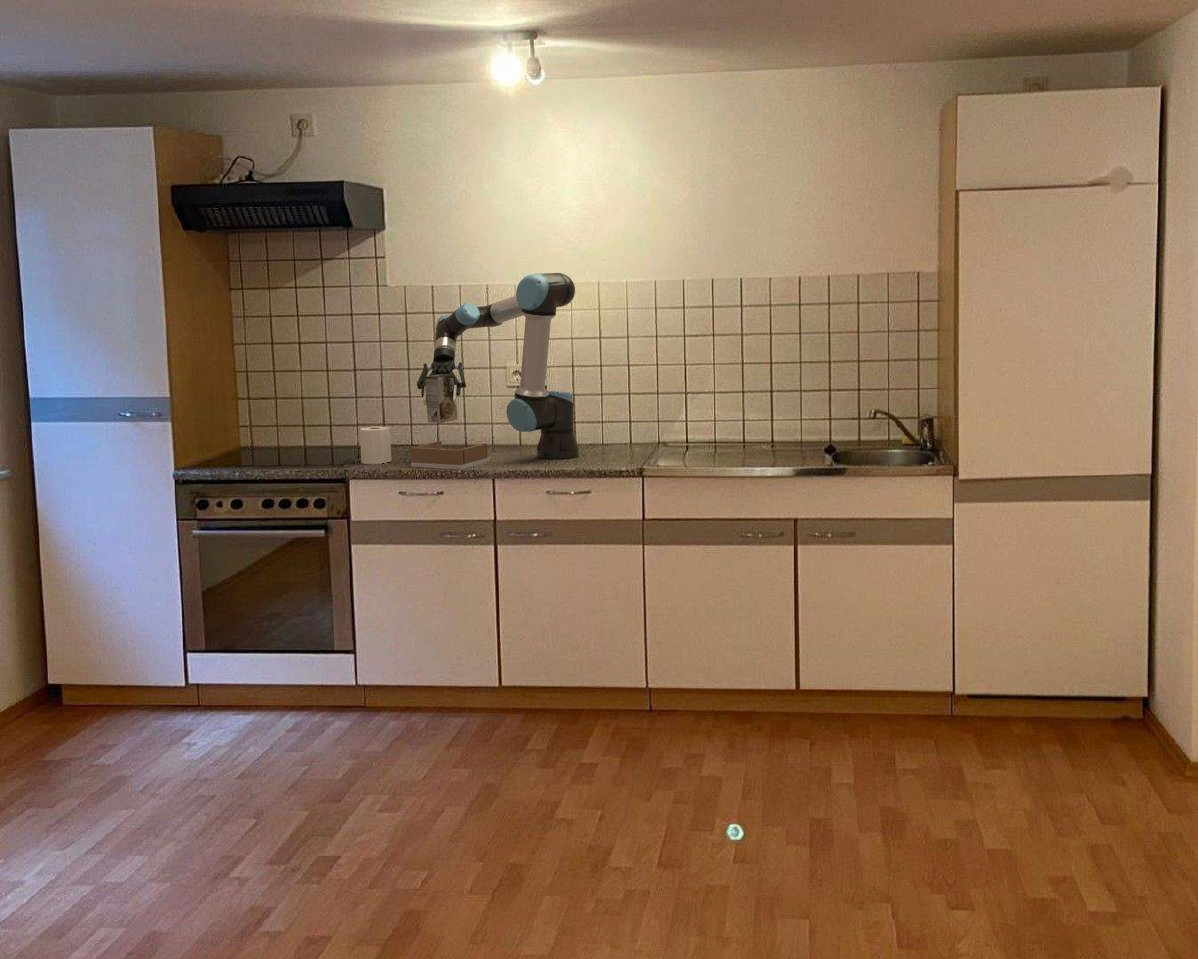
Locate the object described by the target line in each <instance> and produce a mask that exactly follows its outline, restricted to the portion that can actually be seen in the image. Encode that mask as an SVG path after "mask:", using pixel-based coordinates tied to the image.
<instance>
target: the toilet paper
mask: <svg viewBox="0 0 1198 959" xmlns="http://www.w3.org/2000/svg"><path fill="white" fill-rule="evenodd" d="M359 438H360V439H359V440H360V441H359V442H360V458H361V459H360V460H361V464H364V465H382V463H384V464H388V463H387V462H390V461H391V462H392V444H391V428H390V427H389V426H368V427H361V428H360V429H359ZM391 462H390V463H391Z"/></svg>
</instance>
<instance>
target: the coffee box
mask: <svg viewBox="0 0 1198 959" xmlns="http://www.w3.org/2000/svg"><path fill="white" fill-rule="evenodd" d="M454 375H455V374H454ZM454 375H450V374H439V375H433V376H429V375H427V376H426V377H425V388H426V403H427V405H426V417H427V423H431V424H433V423H434V424H443V423H448V422H452V421H453V422H454V421H458V409H457V408H458V407H457V404H455V405H454V401H453V395H454V385H455V377H454Z"/></svg>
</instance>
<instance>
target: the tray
mask: <svg viewBox="0 0 1198 959" xmlns="http://www.w3.org/2000/svg"><path fill="white" fill-rule="evenodd" d="M410 460H411V461H410V462H411V465H410V467H412V468H425V469H441V470H443V469H445V470H446V469H447V470H465V469H468V468H471V467H472V468H473V467H475V466H480V465H483V464H487V463H490V458H489V457H488V443H485V442H483V443H480V444H475V445H472V446H467V447H465V448H460V449H454V448H443V442H442V441H441V440H440V441H439V440H438V441H434V442H430V443H426V444H421V445H417V446H414V447H413V446H412V447H410Z"/></svg>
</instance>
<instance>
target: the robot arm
mask: <svg viewBox="0 0 1198 959" xmlns="http://www.w3.org/2000/svg"><path fill="white" fill-rule="evenodd" d="M575 295H576V286H575V283H574V282H573V280H572V278H570V277H569V276H568V275H567V274H565V273H561V272H553V273H552V272H550V273H548V272H547V273H546V272H545V273H533V274H528V275H525V276H524V277H523V278H522V279H521V280H520V281H519V282H518V284H517V288H516V292H515V295H513V296H510V297H508V298H504V299H502V300H499V301H496V302H494V303H491V304H488V305H485V306H484V305H483V306H482V305H481V306H476V305H475V304H473V303H471V302H464V303H463V304H462V305H460V306H459V307H457V309H455V311H453V312H452V313H451V314H445V315H441V316H440V317H439V318H438V319H437V322H436V326H435V338H434V339H435V340H434V348H433V356H432V357H433V359H432V362H431V364H427V363H423V369H422V371H421V373H420V375H419V378H418V380H417V381H416V382H417V383H416V386H417V389H418V390H420V391H421V392H420V394H421V397H423V405H424V406H426V407H427V403H426V388H425V377H427V376H433V375H439V374H450V375H454V377H455V385H454V395H453V401H454V405H455V404H456V405H457V402H458V401H457V400H458V397H459V396H461V389H462V388H464V389H465V388H467V384H466V379H465V376H464V372H463V371H464V370H463V369H464V366H463V363H462V362H461V361H460V362H458V363H455V361H456V360H455V358H456V348H457V339H458V337H460V335H462V334H463V333H464V332H465V331H467V330H468V329H478V328H493V327H495V328H496V327H497V326H501V325H502V324H503V323H505V322H507V321H510V320H513V319H516V318H519V317H522V316H524V318H525V323H524V334H523V342H522V343H523V345H522V346H523V347H522V356H521V357H522V358H521V369H520V381H519V387H517V389H515V390H514V399H512V400H510V402H508V404H507V405H506V411H505V412H506V418H507V420H508V423H510V425H511V427H512V428H513V429H514V430H516V431H517V432H520V433H526V432H527V433H531V432H534V431H540V436H539V440H538V445H537V447H536V457H537V458H540V459H544V460H545V459H546V460H549V459H550V460H559V459H561V460H562V459H573V458H576V457H580V447H579V444H578V441H577V439H576V437H575V436H576V435H575V428H574V426H575V425H574V424H575V422H574V398H573V394H572V393H571V392H569V391H559V390H558V391H555V390H547V389H546V380H547V370H548V369H547V367H548V356H549V346H550V332H551V322H552V319H554V318H555V317H556V315H557V308H561V307H566V306H567V305H569V304H570V303H571V302H572V301H573V299H574V298H575ZM431 369H432V370H431ZM455 369H456V370H457V371H458V374H459V377H460V378H459V379H460V380H461V381H460V380H459V379H458V378H457V376H456V375H455V372H454V370H455ZM430 371H431V372H430ZM429 372H430V374H429ZM428 374H429V375H428Z"/></svg>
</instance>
